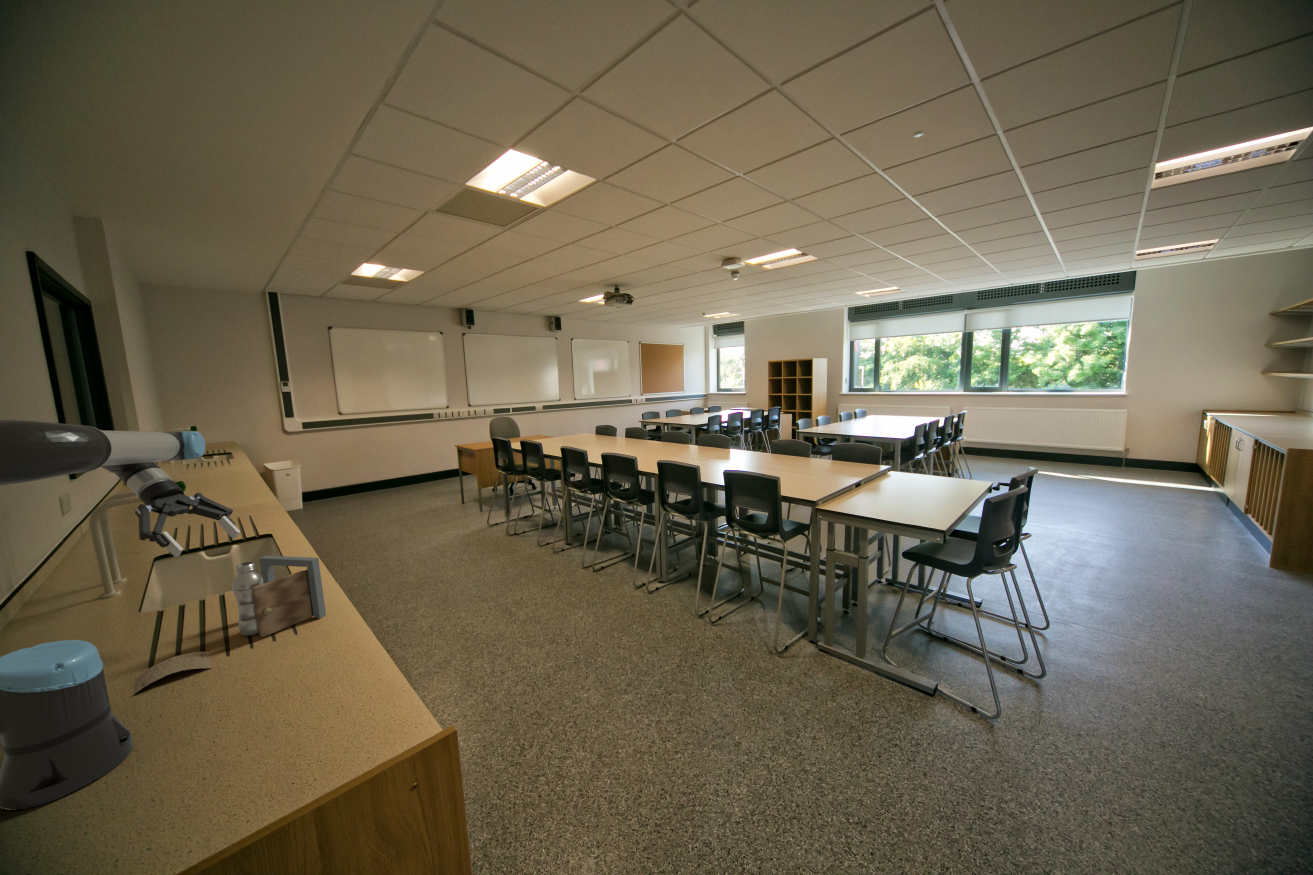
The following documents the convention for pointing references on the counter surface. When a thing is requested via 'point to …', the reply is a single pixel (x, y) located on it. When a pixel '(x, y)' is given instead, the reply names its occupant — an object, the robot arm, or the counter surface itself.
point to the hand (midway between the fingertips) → (209, 543)
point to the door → (282, 602)
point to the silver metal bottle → (246, 597)
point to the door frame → (313, 576)
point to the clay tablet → (172, 667)
